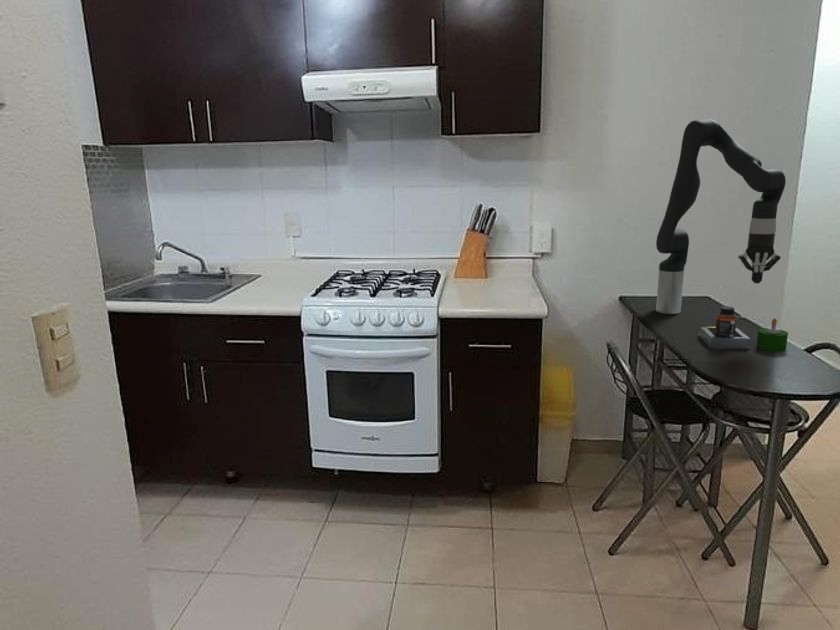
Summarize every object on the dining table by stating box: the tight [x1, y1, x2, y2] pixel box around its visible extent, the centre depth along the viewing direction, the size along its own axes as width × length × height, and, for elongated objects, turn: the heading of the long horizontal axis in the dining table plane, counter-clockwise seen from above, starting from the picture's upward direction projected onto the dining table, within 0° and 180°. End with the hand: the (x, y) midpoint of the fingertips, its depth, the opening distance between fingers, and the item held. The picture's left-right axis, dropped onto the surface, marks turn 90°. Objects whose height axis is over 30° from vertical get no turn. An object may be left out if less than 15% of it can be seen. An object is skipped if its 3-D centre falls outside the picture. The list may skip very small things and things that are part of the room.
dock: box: [698, 326, 751, 350], centre depth 197 cm, size 14×12×4 cm
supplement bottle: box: [715, 305, 738, 337], centre depth 195 cm, size 6×6×11 cm
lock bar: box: [706, 326, 716, 333], centre depth 204 cm, size 2×8×4 cm, turn 79°
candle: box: [756, 317, 789, 353], centre depth 189 cm, size 8×8×10 cm
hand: (756, 282), depth 198 cm, fingers closed
